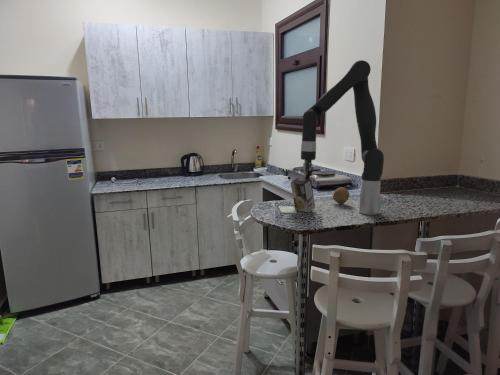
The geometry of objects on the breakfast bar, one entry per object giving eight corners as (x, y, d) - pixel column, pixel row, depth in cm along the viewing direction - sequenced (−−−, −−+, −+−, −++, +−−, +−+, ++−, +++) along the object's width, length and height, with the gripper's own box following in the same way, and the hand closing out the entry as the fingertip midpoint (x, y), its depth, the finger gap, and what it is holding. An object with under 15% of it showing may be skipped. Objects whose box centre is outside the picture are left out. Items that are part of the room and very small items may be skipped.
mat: (293, 207, 193) (293, 206, 193) (297, 213, 181) (297, 212, 181) (278, 207, 193) (278, 206, 193) (281, 213, 181) (281, 212, 181)
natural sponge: (349, 206, 195) (350, 189, 193) (332, 206, 197) (333, 188, 195) (348, 203, 204) (349, 186, 202) (332, 202, 206) (333, 185, 204)
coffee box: (315, 207, 186) (312, 179, 180) (309, 213, 182) (304, 184, 176) (301, 204, 192) (297, 177, 186) (294, 209, 188) (290, 182, 182)
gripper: (318, 151, 175) (317, 186, 179) (312, 149, 188) (311, 181, 192) (303, 151, 175) (302, 186, 178) (298, 149, 188) (297, 181, 191)
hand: (307, 183), depth 185 cm, fingers closed
